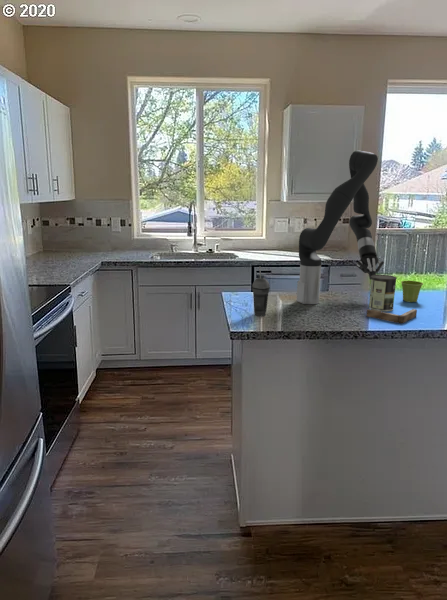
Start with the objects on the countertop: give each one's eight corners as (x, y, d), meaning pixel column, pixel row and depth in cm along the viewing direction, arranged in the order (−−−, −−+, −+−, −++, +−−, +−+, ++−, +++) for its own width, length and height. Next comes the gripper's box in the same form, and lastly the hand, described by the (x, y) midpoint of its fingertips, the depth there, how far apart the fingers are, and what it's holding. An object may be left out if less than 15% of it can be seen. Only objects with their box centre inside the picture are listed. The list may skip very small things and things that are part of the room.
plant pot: (418, 304, 205) (421, 285, 202) (397, 301, 209) (399, 283, 207) (422, 300, 212) (424, 282, 210) (401, 297, 217) (403, 279, 215)
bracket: (365, 315, 187) (366, 308, 186) (415, 315, 187) (415, 308, 187) (374, 323, 176) (375, 316, 175) (427, 323, 177) (428, 316, 176)
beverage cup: (257, 318, 181) (258, 269, 176) (247, 313, 188) (249, 265, 182) (272, 316, 185) (274, 267, 179) (262, 311, 191) (264, 264, 186)
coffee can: (391, 306, 201) (394, 274, 198) (395, 312, 192) (398, 279, 188) (367, 304, 203) (370, 273, 200) (369, 310, 194) (372, 278, 190)
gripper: (355, 244, 212) (361, 275, 203) (383, 244, 212) (390, 275, 203) (350, 253, 218) (357, 284, 209) (378, 253, 219) (385, 284, 210)
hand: (373, 279), depth 206 cm, fingers closed
